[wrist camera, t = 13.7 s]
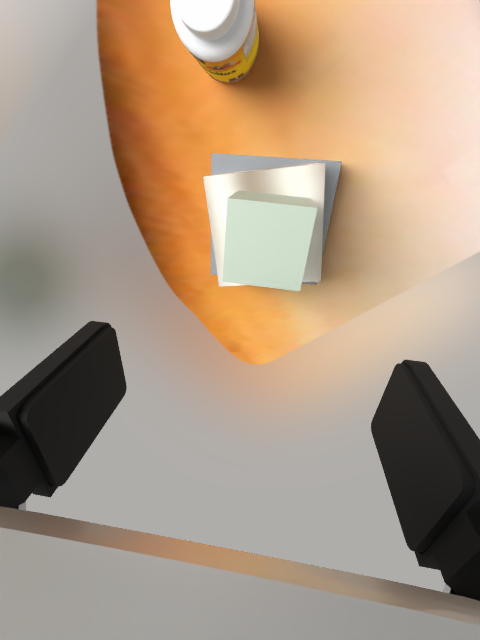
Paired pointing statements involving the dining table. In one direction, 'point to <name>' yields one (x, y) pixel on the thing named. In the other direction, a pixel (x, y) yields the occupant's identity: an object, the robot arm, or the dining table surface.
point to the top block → (271, 181)
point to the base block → (246, 163)
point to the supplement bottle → (219, 35)
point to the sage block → (267, 239)
